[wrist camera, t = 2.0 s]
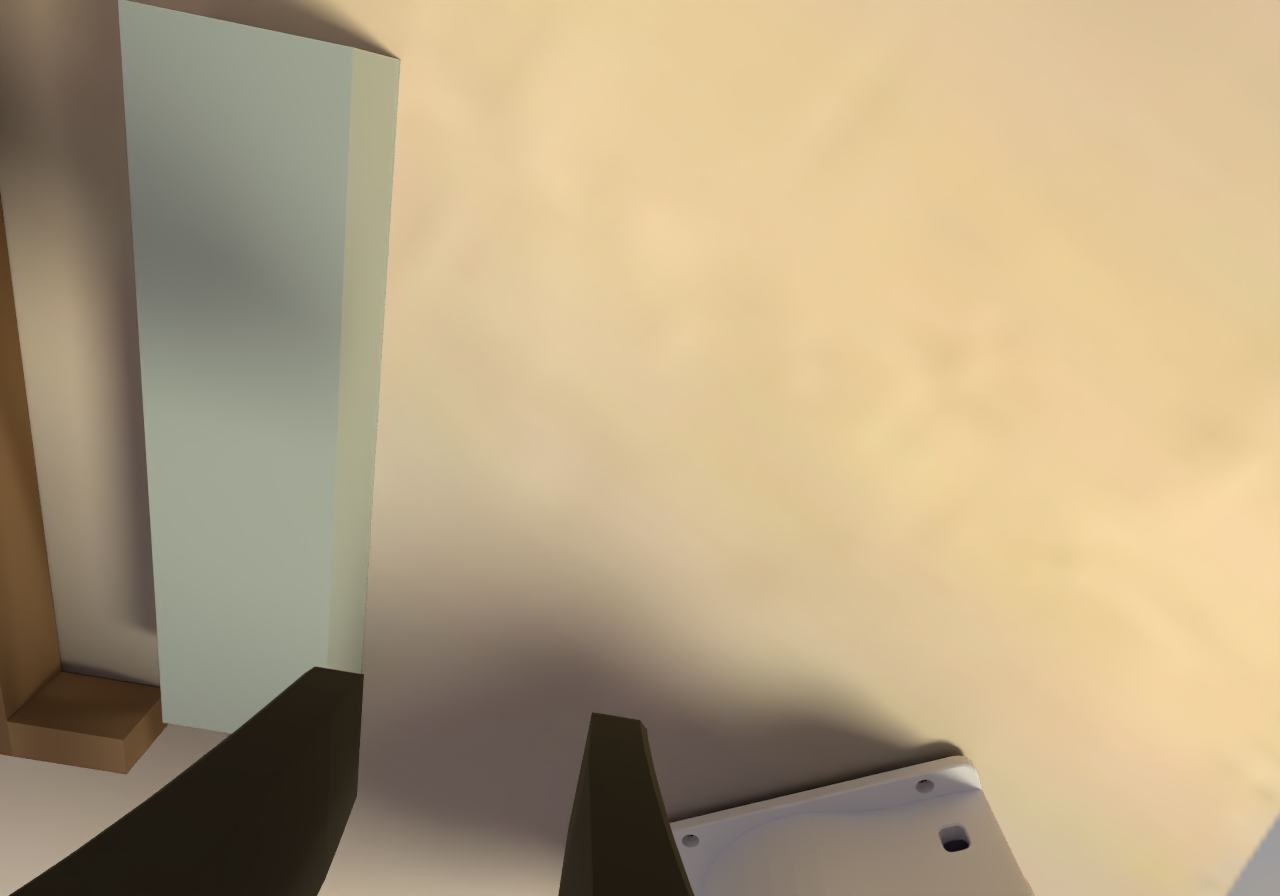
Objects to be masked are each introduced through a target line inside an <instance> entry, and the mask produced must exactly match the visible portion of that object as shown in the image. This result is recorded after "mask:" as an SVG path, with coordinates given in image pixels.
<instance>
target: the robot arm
mask: <svg viewBox="0 0 1280 896" xmlns="http://www.w3.org/2000/svg"><path fill="white" fill-rule="evenodd" d="M363 679H364V674H358V673H352V672H346V671H340V670H334V669H328V668H322V667H316V666H315V667H313V668H312V669H310V670H308V671H307V672H305V673H304V674H303V675H302V676H301V677H299V678H298V679H297V680H296V681H295V682H293V683H292V684H291V685H290V686H289V687H287V688H286V689H285V690H284V691H283V692H282V693H280V694H279V695H278V696H277V697H276V698H274V699H273V700H272V701H271V702H270V703H268V704H267V705H266V706H265V707H264V708H262V709H261V710H260V711H259V712H258V713H256V714H255V715H254V716H253V717H252V718H250V719H249V720H248V721H247V722H246V723H244V724H243V725H242V726H241V727H239V728H238V729H237V730H236V731H234V732H233V733H232V734H231V735H230V736H228V737H227V738H226V739H225V740H223V741H222V742H221V743H220V744H218V745H217V746H216V747H215V748H213V749H212V750H211V751H209V752H208V753H207V754H206V755H204V756H203V757H202V758H200V759H199V760H198V761H197V762H195V763H194V764H193V765H191V766H190V767H189V768H188V769H186V770H185V771H184V772H182V773H181V774H180V775H179V776H177V777H176V778H175V779H173V780H172V781H171V782H170V783H168V784H167V785H166V786H164V787H163V788H162V789H161V790H159V791H158V792H157V793H155V794H154V795H153V796H151V797H150V798H149V799H147V800H146V801H144V802H143V803H142V804H140V805H139V806H138V807H136V808H135V809H133V810H132V811H131V812H129V813H128V814H126V815H125V816H124V817H122V818H121V819H119V820H118V821H117V822H115V823H114V824H112V825H111V826H110V827H108V828H107V829H105V830H104V831H103V832H101V833H100V834H98V835H97V836H96V837H94V838H93V839H91V840H90V841H89V842H87V843H86V844H84V845H83V846H82V847H80V848H79V849H77V850H76V851H75V852H73V853H72V854H70V855H69V856H67V857H66V858H64V859H63V860H62V861H60V862H59V863H57V864H56V865H54V866H53V867H51V868H50V869H48V870H47V871H45V872H44V873H42V874H41V875H39V876H38V877H36V878H35V879H33V880H32V881H30V882H29V883H27V884H26V885H24V886H23V887H21V888H20V889H18V890H16V891H15V892H13V893H12V894H10V895H9V896H317V895H318V892H319V890H320V888H321V886H322V884H323V882H324V880H325V878H326V876H327V873H328V870H329V868H330V865H331V863H332V860H333V858H334V855H335V852H336V850H337V847H338V845H339V842H340V839H341V837H342V834H343V831H344V829H345V826H346V823H347V821H348V818H349V815H350V813H351V810H352V807H353V804H354V802H355V799H356V796H357V782H358V765H359V748H360V731H361V713H362V696H363ZM922 780H927V781H925V782H923V783H918V782H919V781H922ZM686 835H694V836H686ZM559 896H1035V895H1034V893H1033V891H1032V889H1031V887H1030V885H1029V883H1028V881H1027V880H1026V878H1025V877H1024V876H1023V874H1022V872H1021V870H1020V868H1019V866H1018V864H1017V862H1016V859H1015V857H1014V855H1013V853H1012V851H1011V849H1010V847H1009V845H1008V843H1007V841H1006V839H1005V837H1004V835H1003V832H1002V830H1001V828H1000V826H999V824H998V822H997V820H996V818H995V816H994V814H993V812H992V810H991V808H990V805H989V803H988V801H987V799H986V797H985V795H984V793H983V791H982V789H981V785H980V781H979V777H978V773H977V771H976V769H975V767H974V765H973V763H972V761H971V760H970V759H968V758H967V757H964V756H951V757H947V758H943V759H938V760H934V761H930V762H926V763H921V764H917V765H913V766H909V767H905V768H900V769H896V770H892V771H888V772H883V773H879V774H875V775H871V776H867V777H862V778H858V779H854V780H850V781H845V782H841V783H837V784H833V785H829V786H824V787H820V788H816V789H812V790H807V791H803V792H799V793H795V794H790V795H786V796H782V797H778V798H774V799H769V800H765V801H761V802H757V803H752V804H748V805H744V806H740V807H736V808H731V809H727V810H723V811H719V812H714V813H710V814H706V815H702V816H698V817H693V818H689V819H685V820H681V821H676V822H672V823H669V820H668V817H667V814H666V810H665V807H664V803H663V800H662V796H661V793H660V789H659V786H658V782H657V778H656V774H655V770H654V766H653V762H652V757H651V752H650V747H649V742H648V736H647V729H646V728H645V726H644V725H643V724H642V723H641V721H640V720H635V719H629V718H623V717H617V716H611V715H605V714H599V713H593V712H592V716H591V721H590V726H589V731H588V736H587V741H586V746H585V751H584V755H583V760H582V765H581V770H580V775H579V780H578V785H577V790H576V795H575V799H574V804H573V809H572V814H571V819H570V824H569V829H568V835H567V842H566V848H565V855H564V862H563V868H562V875H561V882H560V889H559Z"/></svg>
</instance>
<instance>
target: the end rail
mask: <svg viewBox="0 0 1280 896" xmlns="http://www.w3.org/2000/svg"><path fill="white" fill-rule="evenodd" d="M168 724H169V723H163V719H162V703H161V688H159V687H152V686H146V685H140V684H134V683H128V682H122V681H116V680H110V679H103V678H97V677H91V676H85V675H79V674H73V673H67V672H62V669H61V661H60V653H59V645H58V638H57V630H56V622H55V614H54V607H53V599H52V591H51V583H50V576H49V568H48V560H47V552H46V545H45V537H44V529H43V521H42V514H41V506H40V498H39V490H38V483H37V475H36V467H35V459H34V452H33V444H32V436H31V428H30V421H29V413H28V405H27V397H26V390H25V382H24V374H23V366H22V359H21V351H20V343H19V335H18V328H17V320H16V312H15V304H14V297H13V289H12V281H11V273H10V266H9V258H8V250H7V242H6V235H5V227H4V219H3V211H2V204H1V196H0V754H2V755H8V756H14V757H21V758H27V759H33V760H40V761H46V762H52V763H59V764H65V765H71V766H77V767H84V768H90V769H96V770H103V771H109V772H115V773H122V774H127V773H128V772H129V771H130V769H131V768H132V767H133V766H134V765H135V763H136V762H137V761H138V760H139V759H140V757H141V756H142V755H143V754H144V752H145V751H146V750H147V749H148V748H149V746H150V745H151V744H152V743H153V742H154V740H155V739H156V738H157V737H158V736H159V734H160V733H161V732H162V731H163V730H164V728H165V727H166V726H167V725H168Z"/></svg>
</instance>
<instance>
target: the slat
mask: <svg viewBox="0 0 1280 896" xmlns="http://www.w3.org/2000/svg"><path fill="white" fill-rule="evenodd" d="M118 11H119V27H120V43H121V59H122V75H123V91H124V107H125V123H126V140H127V156H128V172H129V188H130V204H131V220H132V236H133V252H134V268H135V284H136V301H137V317H138V333H139V349H140V365H141V381H142V397H143V413H144V429H145V445H146V461H147V478H148V494H149V510H150V526H151V542H152V558H153V574H154V590H155V606H156V622H157V638H158V655H159V671H160V687H161V703H162V719H163V723H169V724H175V725H181V726H187V727H193V728H199V729H206V730H212V731H218V732H224V733H230V734H232V733H233V732H234V731H236V730H237V729H238V728H239V727H241V726H242V725H243V724H244V723H246V722H247V721H248V720H249V719H250V718H252V717H253V716H254V715H255V714H256V713H258V712H259V711H260V710H261V709H262V708H264V707H265V706H266V705H267V704H268V703H270V702H271V701H272V700H273V699H274V698H276V697H277V696H278V695H279V694H280V693H282V692H283V691H284V690H285V689H286V688H287V687H289V686H290V685H291V684H292V683H293V682H295V681H296V680H297V679H298V678H299V677H301V676H302V675H303V674H304V673H305V672H307V671H308V670H310V669H312V668H313V667H315V666H316V667H322V668H328V669H334V670H340V671H346V672H352V673H358V674H362V659H363V643H364V628H365V612H366V596H367V580H368V564H369V549H370V533H371V517H372V501H373V485H374V469H375V454H376V438H377V422H378V406H379V390H380V375H381V359H382V343H383V327H384V311H385V296H386V280H387V264H388V248H389V232H390V217H391V201H392V185H393V169H394V153H395V137H396V122H397V106H398V90H399V74H400V59H396V58H392V57H388V56H384V55H381V54H377V53H373V52H369V51H365V50H361V49H357V48H354V47H349V46H344V45H339V44H335V43H330V42H325V41H320V40H315V39H311V38H306V37H301V36H296V35H291V34H287V33H282V32H277V31H272V30H267V29H263V28H258V27H253V26H248V25H243V24H238V23H234V22H229V21H224V20H219V19H214V18H210V17H205V16H200V15H195V14H190V13H186V12H181V11H176V10H171V9H166V8H162V7H157V6H152V5H147V4H142V3H138V2H133V1H128V0H118Z"/></svg>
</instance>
